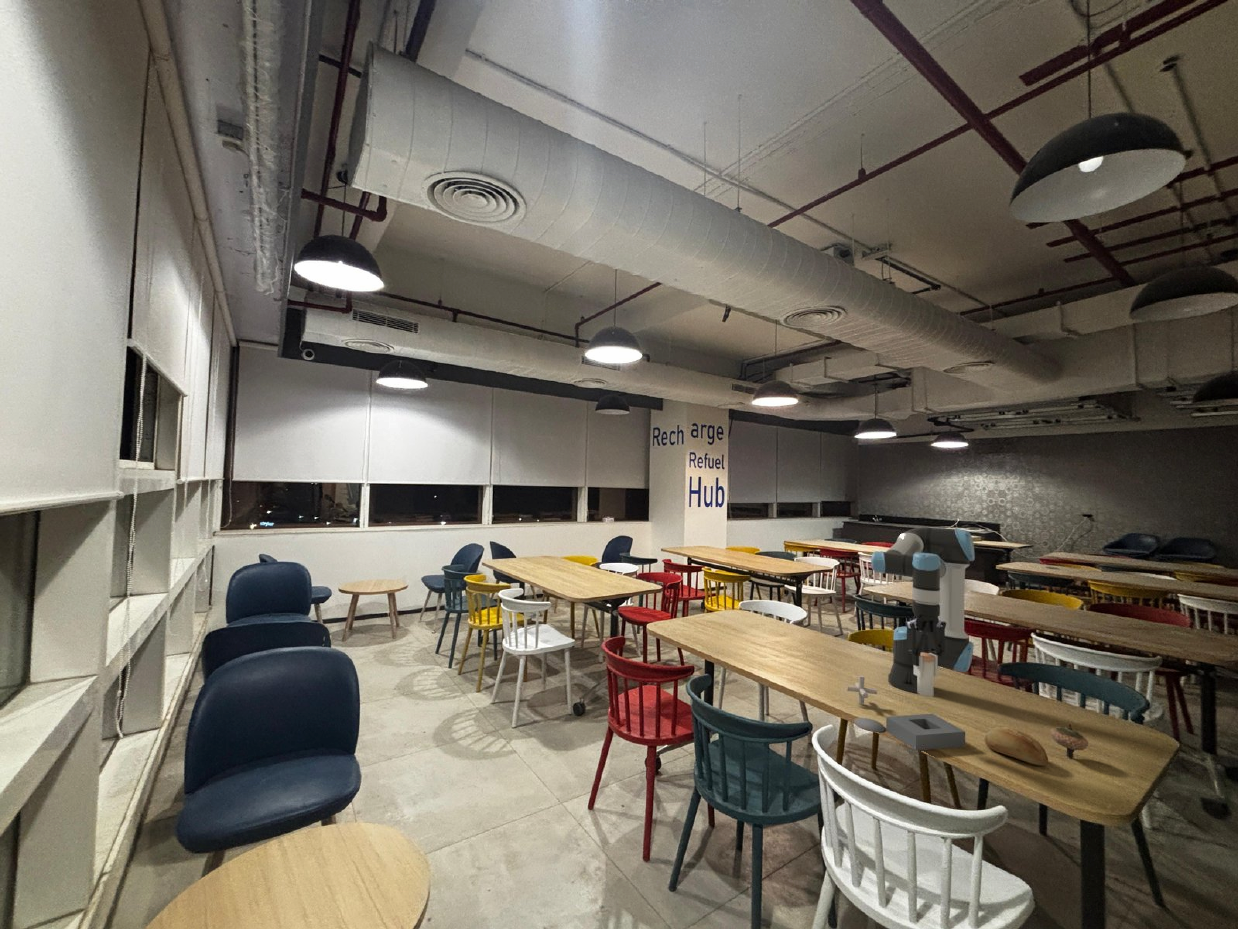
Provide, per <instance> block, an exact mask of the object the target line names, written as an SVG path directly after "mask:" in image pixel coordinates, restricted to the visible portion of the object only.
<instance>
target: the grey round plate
mask: <svg viewBox="0 0 1238 929" xmlns="http://www.w3.org/2000/svg"><path fill="white" fill-rule="evenodd" d="M853 722H854V724H855V725H856V726H857V728H860V729H862V730H864V731H867V732H870V733H882V732H884V731H886V726H884V724H883V723H881V722H880V721H877V720H875V719H872V718H868V717H857V718H854V721H853ZM866 727H869V728H866Z"/></svg>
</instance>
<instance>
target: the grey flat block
mask: <svg viewBox="0 0 1238 929" xmlns="http://www.w3.org/2000/svg"><path fill="white" fill-rule="evenodd" d="M885 720H886V721H885V722H886V723H885V732H887V733H889V734H890V735H892V736H893V737H894V738H897V739H898V740H899V741H901V743H902V742H903V743H904V744H905V743H906V744H905V745H907V744H908V745H910V746H909V747H910V748H911V749H913V750H914V751H918V752H919V751H926V750H927V751H928V750H929V751H930V750H937V749H951V748H962V747H963V746H964V747H966V731H965V730H964V729H962V728H959V727H958V726H956V725H954V724H953V723H951V722H948V721H947V720H945V719H943V718H941V717H940V716H937V715H936V714H934V713H922V714H910V715H909V714H908V715H907V714H906V715H892V716H890V715H889V716H885ZM908 745H907V746H908ZM914 747H915V748H914ZM950 747H951V748H950Z"/></svg>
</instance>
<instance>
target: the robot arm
mask: <svg viewBox="0 0 1238 929" xmlns="http://www.w3.org/2000/svg"><path fill="white" fill-rule="evenodd" d="M975 556H976V555H975V546H974V541H973V536H972V534H971V533H970V531H968V530H965V529H964V530H963V529H957V528H941V527H926V526H922V527H915V528H912V529H909V530H907V531H904V532H903V533H901V534H900V535H899V536H897V539H896V542H895V543H894V544H893V545H892V546H890V547H889V548H888V549H887V550H886V551H883V550H882V551H881V550H880V551H874V552H872V554H871V560H870V561H871V562H870V564H871V569H872V570H873V572H875V573H881V574H887V575H893V576H903V577H909V578H912V599H913V601H912V602H911V603H912V605H911V606H912V607H911V608H912V613H913V614H914V615H913V618H912V620H910V621H908V620H906V621H905V626H899V627H896V628H894V630H893V638H892V641H893V645H892V646H893V649H892V650H893V651H892V653H893V655H892V656H893V659H892V660H893V661H892V665H891V668H890V672H889V673H888V676H887V681H888V683H889V685H891V686H893V687H895V688H897V689H899V690H902V691H906V692H910V693H917V676H918V677H920V678H921V677H922V673H923V657H922V656H920V654H921V652H924V653H929V654H932V655H934V656H935V661H934V678H935V677H938V667H940V668H943V669H949V670H952V672H953V671H954V672H955V671H956V672H962V673H966V672H968V671H969V669H970V667H971V664H972V658H973V653H974V642H972V641H971V640H970V637H969V635H968V634H967V633H966V632H965V592H966V591H965V586H966V583H965V582H966V579H965V578H966V577H965V575H966V569H967V568H968V567H969V566H971V565H970V564H971V562H973V561H975ZM917 694H918V693H917Z"/></svg>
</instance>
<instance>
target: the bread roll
mask: <svg viewBox="0 0 1238 929" xmlns="http://www.w3.org/2000/svg"><path fill="white" fill-rule="evenodd" d="M984 742H985V745H986V747H988V748H989V749H990V750H992V751H995V752H997V753H1000V754H1003V755H1006V756H1009V757H1011V758H1014V759H1017V760H1020V761H1023V762H1025V763H1029V764H1032V765H1035V766H1046V765H1048V762H1049V757H1048V755H1047V753H1046V749H1045V748H1044V747H1043V745H1042V744H1041V743H1040V742H1039V741H1038V740H1036V739H1035V737H1033V736H1031V735H1030V734H1029V733H1027V732H1024V730H1020V729H1017V728H1015V727H1011V726H997V727H992V728H991V729H989V730H988V732H987V733H986V734H985V737H984Z"/></svg>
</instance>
